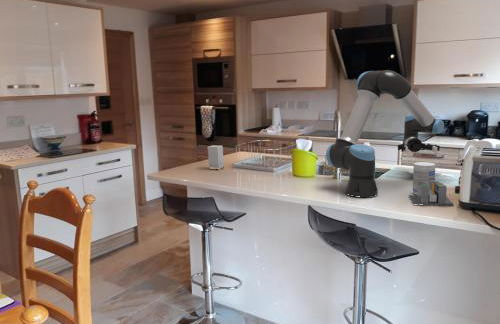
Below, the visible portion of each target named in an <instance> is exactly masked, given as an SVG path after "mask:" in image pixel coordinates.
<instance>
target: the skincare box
mask: <svg viewBox="0 0 500 324" xmlns="http://www.w3.org/2000/svg"><path fill="white" fill-rule="evenodd" d="M207 157H208V168H209V167H214V168H220V167H223V166H224V167H225V160H224V147H223V145H213V144H212V145H210V146H209V145H208V146H207Z"/></svg>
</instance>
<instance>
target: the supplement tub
mask: <svg viewBox="0 0 500 324" xmlns="http://www.w3.org/2000/svg"><path fill="white" fill-rule="evenodd" d="M412 172H413V173H412V193H413V195H417V185H418V181H429V182H436V164H435V163H433V162H427V161H426V162H425V161H420V162H414V163H413V171H412Z"/></svg>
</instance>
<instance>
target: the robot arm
mask: <svg viewBox="0 0 500 324" xmlns="http://www.w3.org/2000/svg"><path fill="white" fill-rule="evenodd" d="M412 87H413V86H412V85H411V83H410V82H409V81H408V80H407V79H405V77H404V76H402V75H401V74H399V73H397V72H396V71H394V70H390V69H387V70H386V69H385V70H369V71H364V72H363V73H361V74H360V75H359V76H358V78H357V80H356V90H357V92H356V93H357V95H358V97H357V99H356V101H355V103H354V106H353V108H352V111H351V113H350V114H349V115H350V116H349V117H348V119H347V122H346V125H345V126H344V129H343V132H342V134H341V136H340V137H338V138H337V139H336V140H335V142H334V143H333V144H331V145H329V146H328V147H327V149H326V152H325V157H326V162H327V163H328V164H329V165H330V166H331V167H333V168H336V169H341V170H346V171H349V173H348V174H349V176H348V177H349V178H348V181H347V183H346V187H345V194H346V193H347V194H349V195H353V196H360V197H370V196H375V195H377V194H378V193H379V189H378V186H377V184H376V180H375V173H376V172H375V170H376V169H375V168H376V166H375V165H376V152H375V149H374V148H373V147H371V146H370V145H366V144H365V145H364V144H358V141H359V139H360V137H361V135H362V132H363V130H364V127H365V125H366V124H367V120H368V118H369V116H370V114H371V111H372V109H373V107H374V104H375V102H377V101H379V100H380V97H381V96H382V95H390V96H392V97H393V99H395V100H399V101H400V103H401V104H402V105H403V107H404V108H405V109H406V110H407V111H408V113H410V114H406V115H405V117H404V126H403V138H402V143H400V144H398V145H397V150H398V151H401V153H402V152H403V153H404V152H405V153H408V152H409V151H410V152H412V153H418V152H420V151H425V150H426V151H432V152H433V153H435V154H437V153H438V152H439V151H440V149H441V146H440V145H437V144H431V143H423V142H422V140H421V139H419V133H424V134H425V133H426V134H431V135H432V134H433V135H436V134H437V135H440V134H441V133H443V131H444V129H445V123H444V121H443V120H441V119H436V118H435V117H434V116H433V114H432V113H431V112H430V111H429V109H428V108H427V107H426V106H425V104H424V103H423V102H422V101H421V99H420V98H419V97H418V96H417V95H416V93H415V92H414V91H413V89H412ZM378 195H379V194H378ZM378 195H377V196H378ZM375 197H376V196H375ZM370 198H371V197H370Z"/></svg>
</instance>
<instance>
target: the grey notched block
mask: <svg viewBox="0 0 500 324" xmlns="http://www.w3.org/2000/svg"><path fill="white" fill-rule="evenodd" d="M447 189H448V188H447V186H446V185H445V184H444V183H442V182H439V183H435V186H434V193H435V194H436V195H437V198H436V202H429V201H428V200H429V186H428V185H427V184H426V183H418V192H417V195H415V194H409V195H408V199H409V198H410V199H409V201H410V200H411V201H412V202H411V201H410V202H411V204H412V203H413V204H423V205H422V206H424V205H439V206H438V207H454V202H453V201H451V200H450V198H449V197H448V196H447ZM413 204H412V205H413ZM440 205H441V206H440Z"/></svg>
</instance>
